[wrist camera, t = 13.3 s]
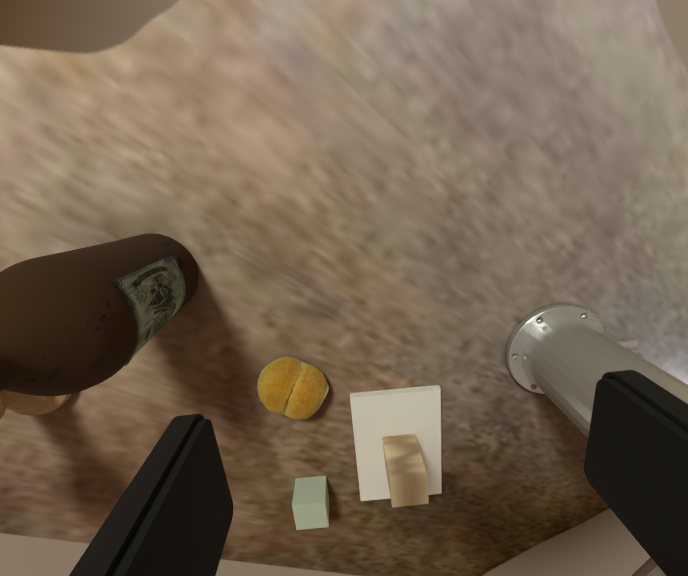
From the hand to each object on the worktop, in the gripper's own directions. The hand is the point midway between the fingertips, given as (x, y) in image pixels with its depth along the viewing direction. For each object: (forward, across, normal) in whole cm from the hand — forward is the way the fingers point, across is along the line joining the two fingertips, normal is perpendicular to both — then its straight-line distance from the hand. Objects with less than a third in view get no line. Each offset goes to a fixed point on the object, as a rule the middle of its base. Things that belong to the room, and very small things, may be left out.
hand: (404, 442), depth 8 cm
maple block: (+32, -4, +31) cm, 45 cm away
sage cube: (+33, +9, +38) cm, 51 cm away
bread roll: (+34, +9, +20) cm, 40 cm away
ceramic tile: (+33, -4, +31) cm, 46 cm away
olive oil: (+34, +23, +3) cm, 41 cm away
